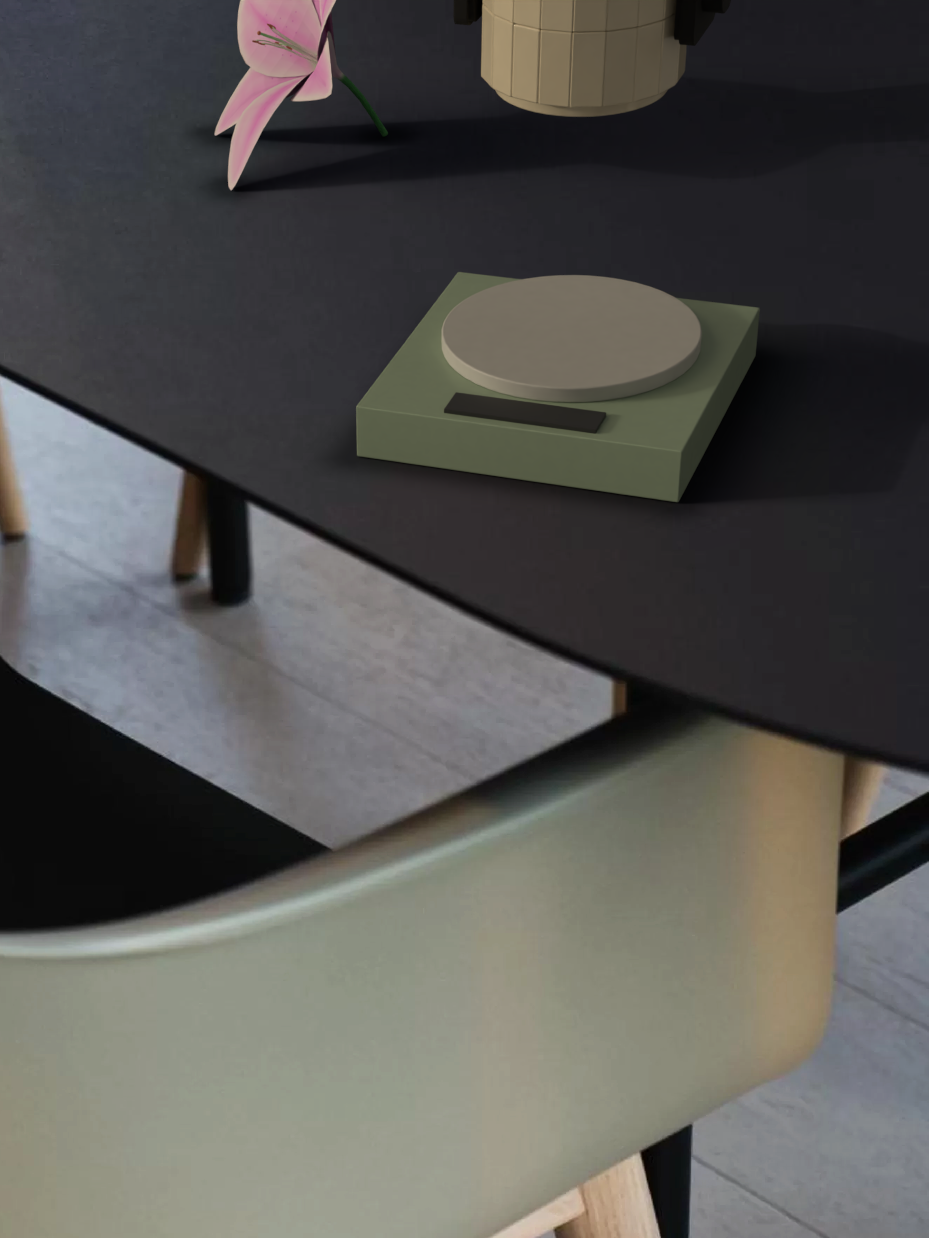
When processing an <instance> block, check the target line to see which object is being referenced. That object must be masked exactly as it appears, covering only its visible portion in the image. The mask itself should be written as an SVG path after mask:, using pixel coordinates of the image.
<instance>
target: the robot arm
mask: <svg viewBox="0 0 929 1238" xmlns="http://www.w3.org/2000/svg"><path fill="white" fill-rule="evenodd" d="M731 2H732V0H676V10H675V26H674V39H675V40H679V44H680V45H687V46H693V47H695V46H697V44H698V43H699V41H701V38H702V37H703V35H705V33H706V32H707V30H708V29H709V27H710V26H711V25H712V23H713V22H714V19H715V17H716V14H726V12H727V11H728V10H729V8H730V5H731ZM452 10H453V13H452V16H453V22H454V24H455V25H462V26H471V25H472V24H473V23H476V22H477V21H479V19H481V18H482V0H453V9H452Z"/></svg>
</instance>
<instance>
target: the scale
mask: <svg viewBox="0 0 929 1238" xmlns="http://www.w3.org/2000/svg"><path fill="white" fill-rule="evenodd" d="M760 311H761V309H760V307H758V306H757V307H755V306H748V305H740V304H739V305H738V304H733V303H732V304H730V303H723V302H716V301H715V302H714V301H713V302H712V301H706V300H697V299H688V298H682V297H675V296H674V295H671V294H669V293H667V292H665V291H663V290H660V289H658V288H656V287H652V286H650V285H646V284H643V283H640V282H635V281H631V280H626V279H621V278H615V277H610V276H609V277H608V276H599V275H598V276H597V275H588V274H587V275H586V274H585V275H583V274H564V275H563V274H559V275H558V274H556V275H544V276H536V277H529V278H527V277H526V278H514V277H504V276H497V275H488V274H479V273H471V272H462V271H458V272H457V273H456V274H455V275H454V277H453V278H452V280H451V281H450V282H449V284H448V285H447V286H446V287H445V289H444V290H443V291H442V293H441V294H440V295H439V296H438V297H437V299H436V301H435V302H434V303H433V305H432V306H431V307H430V308H429V310H428V311H427V312H426V314H425V315H424V316H423V317H422V319H421V320H420V322H419V323H418V324H417V326H416V327H415V328H414V330H413V331H412V333H410V334H409V336H408V337H407V338H406V340H405V342H404V343H403V344H402V345H401V347H400V348H399V350H397V352H396V353H395V355H394V356H393V357H392V358H391V360H390V361H389V362H388V364H387V365H386V367H385V368H384V369H383V371H381V373H380V374H379V376H377V378H376V380H375V381H374V382H373V384H372V385H371V386H370V388H369V389H368V391H367V392H366V393H365V394H364V395H363V397H362V398H361V399H360V401H359V402H358V403H357V405H356V408H355V411H356V412H355V413H356V414H355V417H356V456H357V457H361V458H369V459H376V460H382V461H389V462H396V463H402V464H410V465H416V466H422V467H423V466H424V467H431V468H438V469H443V470H452V471H458V472H463V473H464V472H465V473H472V474H479V475H486V476H493V477H501V478H506V479H513V480H522V481H527V482H533V483H534V482H535V483H542V484H547V485H554V486H555V485H556V486H561V487H568V488H575V489H583V490H590V491H597V492H604V493H610V494H618V495H624V496H630V497H631V496H632V497H638V498H645V499H651V500H652V499H653V500H658V501H665V502H671V503H672V502H673V503H679V502H680V500H681V498H682V496H683V494H684V493H685V491H686V489H687V487H688V486H689V483H690V481H691V479H692V477H693V475H694V473H695V472H696V470H697V467H699V465H700V463H701V461H702V459H703V457H704V454H705V452H706V451H707V449H708V447H709V445H710V443H711V441H712V440H713V437H714V435H715V433H716V432H717V430H718V428H719V426H720V424H721V422H722V420H723V418H724V416H725V415H726V413H727V411H728V409H729V407H730V405H731V403H732V401H733V399H734V397H735V396H736V394H737V392H738V390H739V388H740V386H741V384H742V382H743V380H744V379H745V376H746V375H747V373H748V371H749V369H750V367H751V365H752V363H753V362H754V359H755V358H756V354H757V345H758V343H757V342H758V334H759V333H758V332H759V324H760V323H759V322H760Z"/></svg>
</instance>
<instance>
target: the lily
mask: <svg viewBox="0 0 929 1238" xmlns="http://www.w3.org/2000/svg"><path fill="white" fill-rule="evenodd" d="M336 1H337V0H239V6H238V12H237V21H236V22H237V23H236V26H237V42H238V47H239V52H240V55H241V57H242V59H243V61H244V63H245V65H247V66H249V68H248V70H247V72H246V73H245V74H244V75H243V77H242V78H241V79H240V81H239V82H238V83H237V84H238V85H237V86H236V87H235V89H234V91H233V92H232V95H231V96H230V98H229V99H228V101H227V103H226V105H225V107H224V109H223V111H222V113H221V115H220V117H219V120H218V121H217V123H216V126H215V129H214V136H218V135H220V134H222V133H223V132H225V131H226V130H228V129H229V128H231V127H233V126H234V125H235V126H234V130H233V133H232V136H231V141H230V148H229V155H228V164H227V165H228V166H227V182H228V183H227V184H228V189H229V190H230V191H232V190H234V188H235V187H236V185H237V183H238V181H239V179H240V177H241V175H242V173H243V171H244V169H245V167H246V165H247V163H248V161H249V159H250V157H251V155H252V152H253V150H254V148H255V146H256V144H257V142H258V140H259V138H260V136H261V135H262V132H263V131H264V129H265V127H266V126H267V124H268V123H269V121H270V119H271V118H272V117H273V115H274V113H275V111H276V110H277V109H278V108H279V106H280V105H281V104H282V102H283V101H284V100H286V99H288V98H289V97H290V98H289V101H291V102H309V101H311V102H312V101H318V100H323V99H326V98H329V96H330V95H332V91H333V78H335V79H337V80H339V82H340V83H342V85H344V86H345V87H346V88H347V89H349V90H350V92H351V93H352V94H353V96H354V97H356V98H357V100H358V101H359V102H360V104H361V106H362V107H363V108H364V110H365V111H366V113H367V114H368V116H369V117H370V119H371V120H372V122H373V123H374V125H375V127H376V129H377V130H378V133H380V135H381V136H382V137H386V136H388V135H389V132H388V130H387V129H386V127H385V125H384V124H383V122H382V121H381V119H380V118H379V115H378V114H377V113H376V110H374V108H373V106H372V105H371V104H370V102H369V101H368V99H367V98H366V96H365V95H364V93H362V91H361V90H360V89H359V88H358V87H357V86H356V85H355V83H354V82H353V81H352V80H351V79H349V78H348V77H347V75H345V73H343V72H342V71H341V70H340V67H339V66H338V61H337V54H336V45H335V43H336V42H335V36H334V24H333V16H332V15H333V14H332V10H333V7H334V6H335V3H336Z"/></svg>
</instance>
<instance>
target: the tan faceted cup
mask: <svg viewBox="0 0 929 1238" xmlns="http://www.w3.org/2000/svg"><path fill="white" fill-rule="evenodd" d="M675 10H676V0H482V16H481V31H480V32H481V40H480V41H481V42H480V77H481V78H482V79H483V80H484V81H485V82H486V84H487V85H488V86H489V87H490V88H492V90H495V93H496V94H497V95H498V97H499V98H500V99H502V100H503V101H505V102H506V103H508V104H510V105H513V107H517V108H519V109H522V110H525V111H528V112H533V113H537V114H543V115H547V116H548V115H549V116H557V117H567V118H568V117H570V118H576V117H577V118H587V117H588V118H589V117H590V118H591V117H593V118H594V117H605V116H612V115H618V114H624V113H629V112H632V111H636V110H639V109H643V108H646V107H647V106H650V105H653V103H655V102H657V101H659V100H661V99H662V98H663V97H664V96H665V95H666V94H667V92H668V90H671V88H674V87H675V86H676V85H677V84H678V83H679V81H680V80H681V78H682V77H683V75H684V74H685V71H686V61H687V60H686V59H687V46H688V45H680V44H679V40H675V39H674V26H675Z"/></svg>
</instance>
